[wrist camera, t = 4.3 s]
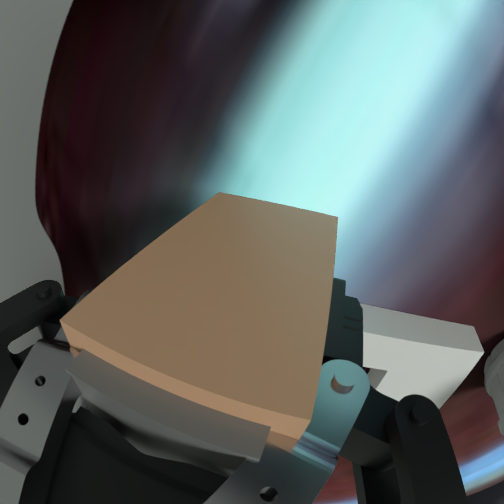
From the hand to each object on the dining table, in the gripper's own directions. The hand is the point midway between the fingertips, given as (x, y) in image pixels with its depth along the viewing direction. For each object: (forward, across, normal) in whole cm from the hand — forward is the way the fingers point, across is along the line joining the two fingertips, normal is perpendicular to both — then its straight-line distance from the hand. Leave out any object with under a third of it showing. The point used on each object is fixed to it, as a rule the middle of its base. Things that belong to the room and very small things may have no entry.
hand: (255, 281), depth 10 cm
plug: (+2, 0, 0) cm, 2 cm away
